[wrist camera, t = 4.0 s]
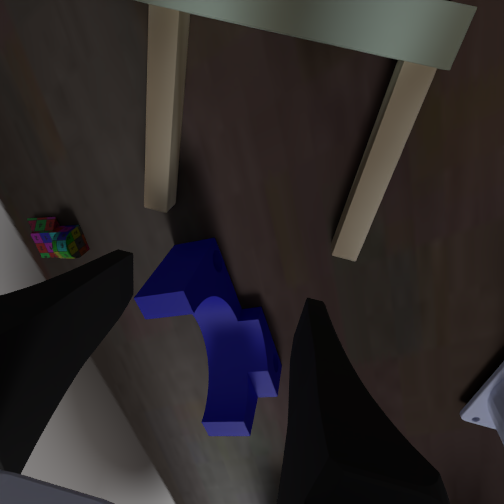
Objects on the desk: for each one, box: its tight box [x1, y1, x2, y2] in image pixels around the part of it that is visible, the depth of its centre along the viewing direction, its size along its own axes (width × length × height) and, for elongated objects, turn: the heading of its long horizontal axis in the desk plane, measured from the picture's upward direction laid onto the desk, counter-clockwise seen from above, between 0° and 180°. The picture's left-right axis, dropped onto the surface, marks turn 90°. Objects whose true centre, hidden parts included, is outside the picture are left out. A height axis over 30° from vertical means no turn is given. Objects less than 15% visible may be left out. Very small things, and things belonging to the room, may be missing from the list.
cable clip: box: [134, 238, 282, 436], centre depth 23 cm, size 12×4×6 cm, turn 17°
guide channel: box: [135, 0, 477, 261], centre depth 17 cm, size 13×12×3 cm
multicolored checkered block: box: [27, 217, 89, 259], centre depth 24 cm, size 4×3×2 cm
